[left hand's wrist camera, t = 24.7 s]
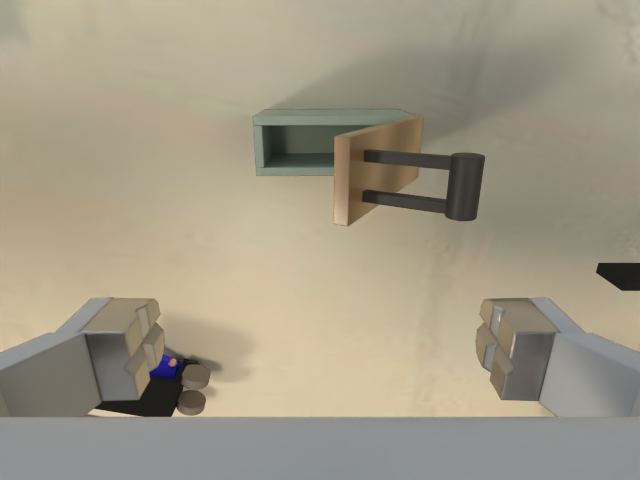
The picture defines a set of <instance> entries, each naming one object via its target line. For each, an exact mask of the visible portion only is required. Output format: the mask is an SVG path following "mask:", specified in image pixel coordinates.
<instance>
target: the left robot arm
mask: <svg viewBox="0 0 640 480" xmlns="http://www.w3.org/2000/svg"><path fill="white" fill-rule="evenodd" d="M159 316H160V309H159V304H158V302H157V301H156V300H155V299H150V298H113V297H110V298H91V299H90V300H89V301H88V302H87V303H85V304H84V305H83V306H82V307H81V308H80V309H79V310H78V311H77V312H76V313H75V314H74V315H73V316H72V317H71V318H70V319H69V320H68V321H66V322H65V323H64V324H63V325H62V326H61V327H60V328H59V329H58V330H57V331H56V332H55V333H46V334H44V335H42V336H39V337H37V338H34V339H32V340H30V341H27V342H25V343H22V344H20V345H18V346H15V347H13V348H10V349H8V350H5V351H3V352H1V353H0V480H640V353H639V352H637V351H634V350H632V349H630V348H627V347H625V346H622V345H620V344H618V343H615V342H613V341H610V340H608V339H606V338H603V337H601V336H598V335H596V334H594V333H585V332H584V331H583V330H582V329H581V328H580V327H579V326H578V325H577V324H576V323H575V322H574V321H573V320H572V319H570V318H569V317H568V316H567V315H566V314H565V313H564V312H563V311H562V310H561V309H560V308H559V307H558V306H557V305H556V304H555V303H554V302H553V301H551V300H550V299H548V298H545V297H541V298H500V299H484V300H483V302H482V305H481V309H480V316H481V317H482V319H483V321H484V323H483V324H482V325H481V326H480V327H479V328H478V329H477V333H476V341H475V342H476V353H477V356H478V359H479V361H480V363H481V365H482V367H483V368H485V369H486V370H488V371H489V372H491V376H490V381H491V383H492V385H493V386H494V388H495V390H496V392H497V393H498V395H499V397H500V399H501V400H521V401H539V403H540V404H541V405H542V406H544V407H545V408H546V409H548V410H549V411H550V412H552V413H553V414H554V415H556V416H557V417H83V416H84V415H86V414H87V413H88V412H90V411H91V410H92V409H94V408H95V407H96V406H98V405H99V404H100V403H101V401H118V400H139V399H140V397H141V395H142V393H143V392H144V390H145V388H146V386H147V385H148V383H149V381H150V376H149V372H151V371H152V370H154V369H155V368H157V367H158V365H159V363H160V361H161V359H162V355H163V351H164V333H163V329H162V328H161V327H160V326H159V325H158V324H157V323H156V321H157V319H158V317H159Z"/></svg>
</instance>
